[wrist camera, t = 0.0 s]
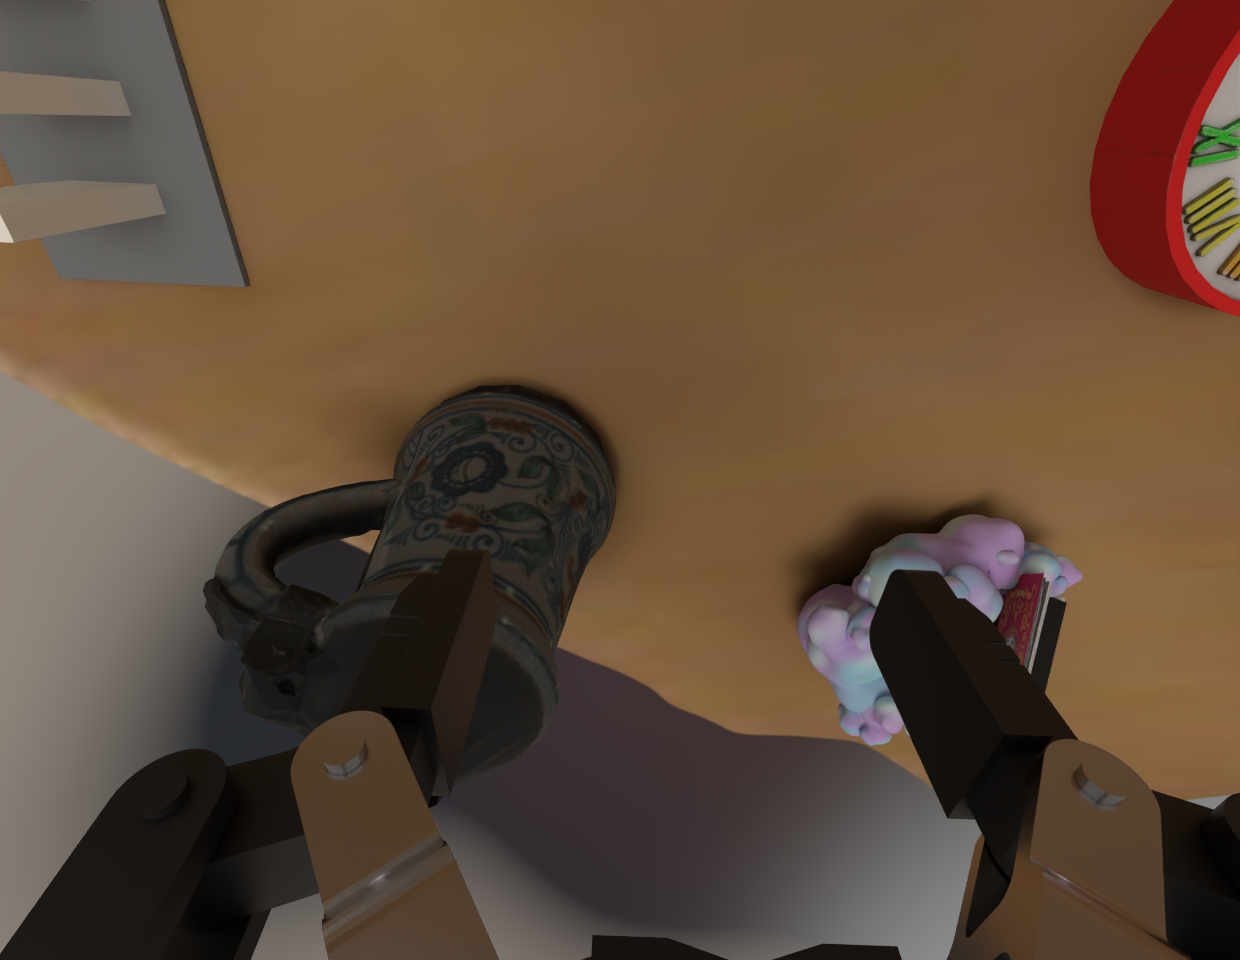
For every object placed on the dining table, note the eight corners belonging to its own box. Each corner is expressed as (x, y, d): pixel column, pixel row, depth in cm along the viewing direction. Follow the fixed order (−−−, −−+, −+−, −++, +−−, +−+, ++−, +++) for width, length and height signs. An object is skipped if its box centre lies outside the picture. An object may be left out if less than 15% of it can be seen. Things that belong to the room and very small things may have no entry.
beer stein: (617, 556, 49) (607, 885, 28) (396, 555, 49) (219, 879, 28) (615, 376, 40) (598, 658, 19) (345, 377, 40) (32, 654, 19)
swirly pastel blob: (755, 548, 42) (843, 821, 34) (1079, 445, 36) (1283, 747, 28) (795, 599, 59) (859, 789, 51) (1019, 535, 53) (1134, 739, 45)
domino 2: (71, 180, 33) (-119, 198, 25) (155, 184, 33) (-5, 204, 25) (83, 209, 34) (-96, 237, 26) (166, 213, 34) (14, 242, 26)
